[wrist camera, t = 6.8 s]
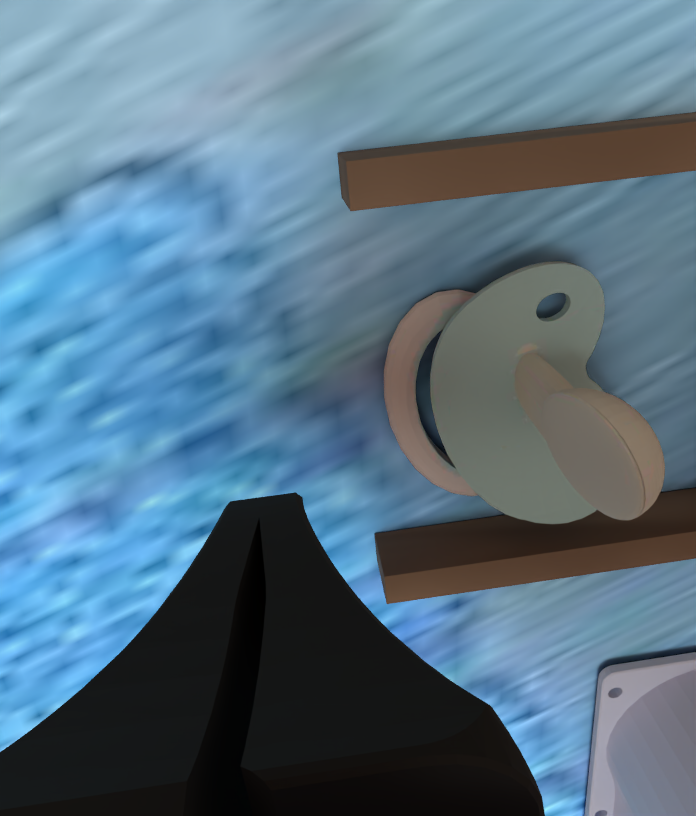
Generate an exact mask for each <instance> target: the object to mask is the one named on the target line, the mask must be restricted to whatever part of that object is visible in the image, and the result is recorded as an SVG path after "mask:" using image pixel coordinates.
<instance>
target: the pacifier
mask: <svg viewBox="0 0 696 816" xmlns="http://www.w3.org/2000/svg"><path fill="white" fill-rule="evenodd" d="M553 293H564V294H565V295H566V302H565V305H564V307H563V308H562V309H561V310H560V312H558V313H557V314H555V315H554V316H551V317H548V318H539V317H537V314H536V309H537V306H538V305H539V303H540V302H541V301H542V300H543V299H544V298H545V297H547V296H548V295H551V294H553ZM604 311H605V304H604V294H603V291H602V288H601V286H600V284H599V282H598V280H597V279H596V278H595V277H594V276H593V275H592V274H591V273H590V272H589V271H588V270H586V269H583V268H581V267H579V266H577V265H575V264H572V263H567V262H561V261H553V262H543V263H538V264H533V265H529V266H526V267H523V268H520V269H518V270H515V271H513V272H510V273H508V274H506V275H504V276H502V277H500V278H498V279H496V280H495V281H493V282H492V283H490V284H489V285H487V286H486V287H484V288H483V289H481V290H480V291H479V292H477V293H472V292H467V291H463V290H458V289H457V290H450V291H443V292H436V293H434V294H432V295H430V296H429V297H427V298H425V299H423V300H422V301H420V302H418V303H416V304H415V305H414V306H413V308H412V309H411V310H410V311H409V312H408V313H407V314H406V315H405V317H404V318H403V319H402V320H401V321H400V323H399V325H398V327H397V329H396V331H395V333H394V335H393V337H392V340H391V342H390V344H389V347H388V352H387V358H386V363H385V368H384V400H385V404H386V408H387V413H388V417H389V422H390V426H391V428H392V430H393V432H394V435H395V437H396V439H397V441H398V444H399V446H400V448H401V450H402V451H403V453H404V454H405V455H406V457H407V458H408V459H409V461H410V462H411V463H412V465H413V466H414V468H415V469H416V470H417V471H419V472H420V473H421V474H422V475H423V476H424V477H426V478H427V479H428V480H429V481H430V482H431V483H433V484H435V485H437V486H439V487H441V488H443V489H445V490H447V491H449V492H451V493H454V494H460V495H467V496H477V495H479V496H480V497H481V498H482V499H483V500H485V501H486V502H487V503H488V504H489V505H490V506H492V507H494V508H496V509H497V510H499V511H501V512H502V513H504V514H506V515H509V516H512V517H515V518H518V519H521V520H527V521H531V522H534V523H545V524H561V523H569V522H572V521H575V520H578V519H582V518H584V517H586V516H588V515H590V514H592V513H594V512H595V511H596V510H599V511H600V512H602V513H603V514H605V515H607V516H609V517H611V518H614V519H618V520H632V519H635V518H637V517H639V516H640V515H642V514H643V513H644V512H646V511H647V510H648V509H649V508H650V507H651V506H652V505H653V504H654V502H655V501H656V499H657V497H658V495H659V493H660V492H661V489H662V486H663V481H664V476H665V463H664V457H663V452H662V449H661V446H660V443H659V441H658V439H657V437H656V435H655V433H654V431H653V430H652V428H651V427H650V425H649V424H648V423H647V421H646V420H645V419H644V418H643V417H642V416H641V415H640V413H638V412H637V411H636V410H635V409H634V408H633V407H631V406H630V405H629V404H627V403H626V402H624V401H623V400H621V399H619V398H617V397H615V396H613V395H611V394H608V393H605V392H604V391H603V390H602V389H601V387H600V386H599V385H598V384H596V383H595V382H594V381H592V380H591V379H590V378H589V377H588V375H587V372H586V363H587V361H588V359H589V358H590V356H591V354H592V352H593V351H594V348H595V345H596V343H597V341H598V339H599V336H600V332H601V328H602V325H603V322H604ZM443 329H444V330H443ZM442 330H443V331H442ZM440 331H442V333H441V335H440V338H439V340H438V343H437V345H436V348H435V351H434V354H433V359H432V365H431V372H430V394H431V403H432V409H433V414H434V419H435V423H436V426H437V429H438V432H439V435H440V438H441V440H442V443H443V445H444V447H445V450H446V452H447V454H448V456H447V455H445V454H444V453H443V452H442V451H441V450H440V449H439V448H438V447H437V446H436V445H434V443H433V442H432V441H431V439H430V438H429V436H428V435H427V433H426V432H425V430H424V428H423V426H422V423H421V421H420V418H419V413H418V408H417V403H416V377H417V372H418V367H419V362H420V360H421V357H422V355H423V353H424V351H425V349H426V347H427V345H428V344H429V342H430V341H431V340H432V339H433V338H434V337H435V336H436V334H437V333H438V332H440Z"/></svg>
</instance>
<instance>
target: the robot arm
mask: <svg viewBox="0 0 696 816" xmlns="http://www.w3.org/2000/svg"><path fill="white" fill-rule="evenodd" d="M0 816H545V814H544V808H543V801H542V796H541V794H540V791H539V789H538V786H537V784H536V781H535V779H534V777H533V775H532V773H531V771H530V769H529V767H528V765H527V763H526V761H525V759H524V758H523V756H522V754H521V752H520V750H519V748H518V747H517V745H516V743H515V742H514V740H513V739H512V737H511V735H510V734H509V732H508V730H507V729H506V727H505V726H504V724H503V723H502V721H501V720H500V718H499V717H498V715H497V714H496V713H495V711H494V710H493V708H492V707H491V706H490V705H488V704H487V703H485V702H484V701H482V700H480V699H479V698H477V697H475V696H474V695H472V694H471V693H469V692H467V691H466V690H464V689H463V688H461V687H459V686H458V685H456V684H455V683H453V682H452V681H450V680H449V679H448V678H446V677H445V676H443V675H442V674H441V673H439V672H438V671H437V670H435V669H434V668H433V667H431V666H430V665H429V664H427V663H426V662H425V661H423V660H422V659H421V658H420V657H419V656H418V655H417V654H415V653H414V652H413V651H412V650H411V649H410V648H408V647H407V646H406V645H405V644H404V643H403V642H402V641H400V640H399V639H398V638H397V637H396V636H395V635H393V634H392V633H391V632H390V631H389V630H388V629H387V628H386V627H385V626H384V625H383V624H382V623H381V622H380V621H379V620H378V619H377V618H376V617H375V616H374V615H373V614H372V612H371V611H370V610H369V609H368V608H367V607H366V606H365V605H364V604H363V602H362V601H361V600H360V599H359V598H358V597H357V595H356V594H355V593H354V592H353V590H352V589H351V588H350V587H349V585H348V584H347V583H346V581H345V580H344V579H343V577H342V576H341V575H340V573H339V572H338V570H337V569H336V568H335V566H334V565H333V563H332V562H331V560H330V559H329V557H328V555H327V554H326V552H325V550H324V549H323V547H322V545H321V544H320V542H319V540H318V539H317V537H316V535H315V533H314V531H313V529H312V527H311V525H310V522H309V520H308V518H307V515H306V513H305V510H304V506H303V499H302V497H301V496H300V495H298V494H297V493H289V494H282V495H274V496H267V497H260V498H252V499H245V500H238V501H230V502H229V504H228V505H227V506H226V507H225V509H224V511H223V513H222V514H221V516H220V518H219V520H218V522H217V523H216V525H215V527H214V529H213V530H212V532H211V534H210V535H209V537H208V539H207V540H206V542H205V544H204V545H203V547H202V549H201V550H200V552H199V553H198V555H197V556H196V558H195V559H194V561H193V562H192V564H191V565H190V567H189V568H188V570H187V572H186V573H185V574H184V576H183V577H182V579H181V580H180V581H179V583H178V584H177V585H176V587H175V588H174V589H173V591H172V592H171V593H170V595H169V596H168V597H167V599H166V600H165V602H164V603H163V604H162V606H161V607H160V608H159V609H158V611H157V612H156V613H155V614H154V615H153V617H152V618H151V619H150V620H149V622H148V623H147V624H146V625H145V626H144V627H143V629H142V630H141V631H140V632H139V633H138V634H137V635H136V636H135V637H134V639H133V640H132V641H131V642H130V643H129V644H128V645H127V646H126V647H125V648H124V649H123V650H122V651H121V652H120V653H119V654H118V655H117V656H116V657H115V658H114V659H113V660H112V661H111V662H110V663H109V664H108V665H107V666H106V667H105V668H104V669H102V670H101V671H100V672H99V673H98V674H97V675H96V676H95V677H94V678H93V679H92V680H91V681H90V682H89V683H88V684H87V685H85V686H84V687H83V688H82V689H81V690H80V691H79V692H78V693H76V694H75V695H74V696H73V697H72V698H70V699H69V700H68V701H67V702H66V703H64V704H63V705H62V706H61V707H60V708H58V709H57V710H56V711H55V712H54V713H52V714H51V715H50V716H48V717H47V718H46V719H45V720H43V721H42V722H41V723H39V724H38V725H37V726H36V727H34V728H33V729H32V730H31V731H29V732H28V733H26V734H25V735H24V736H22V737H21V738H20V739H18V740H17V741H16V742H14V743H13V744H11V745H10V746H9V747H7V748H6V749H4V750H3V751H1V752H0ZM585 816H696V652H693V653H687V654H680V655H674V656H667V657H661V658H654V659H648V660H641V661H635V662H629V663H622V664H616V665H611V666H607V667H606V668H604V669H603V670H602V671H601V672H600V674H599V677H598V686H597V696H596V706H595V716H594V726H593V736H592V746H591V756H590V766H589V776H588V787H587V797H586V807H585Z"/></svg>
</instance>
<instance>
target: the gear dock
mask: <svg viewBox="0 0 696 816" xmlns="http://www.w3.org/2000/svg"><path fill="white" fill-rule="evenodd" d="M338 163H339V174H340V184H341V194H342V198H343V200H344V201H345V203H346V205H347V206H348V208H349V209H350V211H356V210H364V209H373V208H381V207H390V206H398V205H406V204H415V203H423V202H432V201H440V200H449V199H457V198H466V197H474V196H483V195H491V194H500V193H508V192H517V191H525V190H534V189H542V188H551V187H559V186H568V185H576V184H585V183H593V182H602V181H610V180H619V179H627V178H636V177H644V176H652V175H661V174H669V173H678V172H686V171H695V170H696V112H693V113H684V114H675V115H666V116H658V117H649V118H640V119H631V120H622V121H613V122H605V123H596V124H587V125H578V126H569V127H561V128H552V129H543V130H534V131H525V132H516V133H508V134H499V135H490V136H481V137H472V138H464V139H455V140H446V141H437V142H428V143H419V144H411V145H402V146H393V147H384V148H375V149H367V150H358V151H349V152H340V153H338ZM375 544H376V554H377V562H378V566H379V571H380V575H381V580H382V584H383V589H384V593H385V598H386V602H387V604H390V603H397V602H404V601H410V600H417V599H424V598H431V597H437V596H444V595H451V594H458V593H465V592H471V591H478V590H485V589H492V588H498V587H505V586H512V585H519V584H525V583H532V582H539V581H546V580H552V579H559V578H566V577H573V576H579V575H586V574H593V573H600V572H607V571H613V570H620V569H627V568H634V567H640V566H647V565H654V564H661V563H667V562H674V561H681V560H688V559H694V558H696V488H691V489H684V490H677V491H670V492H663V493H659V495H658V497H657V499H656V501H655V502H654V504H653V505H652V506H651V507H650V508H649V509H648V510H647V511H646V512H644V513H643V514H642V515H640V516H639V517H637V518H635V519H632V520H618V519H614V518H611V517H609V516H607V515H605V514H603V513H602V512H600V511H599V510H596V511H595V512H594V513H592V514H590V515H588V516H586V517H584V518H582V519H578V520H575V521H572V522H569V523H561V524H545V523H534V522H531V521H527V520H521V519H518V518H515V517H512V516H509V515H502V516H495V517H488V518H481V519H474V520H467V521H460V522H453V523H446V524H439V525H432V526H425V527H418V528H411V529H404V530H397V531H390V532H383V533H376V534H375Z"/></svg>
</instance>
